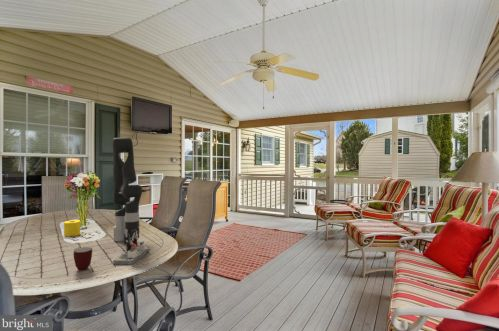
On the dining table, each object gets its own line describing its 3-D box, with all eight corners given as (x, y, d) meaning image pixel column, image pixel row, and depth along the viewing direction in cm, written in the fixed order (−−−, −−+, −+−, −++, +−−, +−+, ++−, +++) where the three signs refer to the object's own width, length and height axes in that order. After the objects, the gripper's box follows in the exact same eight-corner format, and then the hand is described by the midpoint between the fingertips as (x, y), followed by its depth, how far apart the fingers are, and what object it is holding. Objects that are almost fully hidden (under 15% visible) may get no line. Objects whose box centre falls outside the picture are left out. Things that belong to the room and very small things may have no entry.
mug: (68, 268, 140) (68, 249, 140) (85, 264, 146) (85, 245, 146) (77, 274, 134) (77, 253, 133) (95, 268, 140) (95, 249, 140)
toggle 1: (127, 257, 150) (127, 249, 150) (130, 255, 153) (130, 247, 153) (134, 258, 150) (135, 249, 150) (137, 255, 153) (137, 247, 153)
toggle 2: (137, 250, 162) (137, 242, 162) (139, 248, 165) (139, 241, 165) (143, 250, 162) (144, 243, 162) (146, 248, 165) (146, 241, 165)
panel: (113, 264, 146) (113, 258, 146) (132, 250, 169) (132, 245, 168) (131, 264, 146) (131, 259, 146) (148, 250, 168) (148, 246, 168)
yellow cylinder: (83, 232, 207) (83, 220, 207) (73, 236, 197) (73, 223, 197) (70, 232, 208) (70, 219, 208) (60, 236, 198) (60, 222, 198)
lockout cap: (126, 254, 155) (126, 245, 155) (129, 252, 160) (130, 242, 159) (134, 255, 155) (134, 245, 155) (137, 252, 159) (137, 242, 159)
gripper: (132, 223, 150) (132, 253, 150) (143, 217, 164) (143, 245, 164) (119, 222, 150) (119, 252, 150) (131, 217, 164) (131, 244, 165)
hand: (132, 248), depth 157 cm, fingers open, 7 cm apart
